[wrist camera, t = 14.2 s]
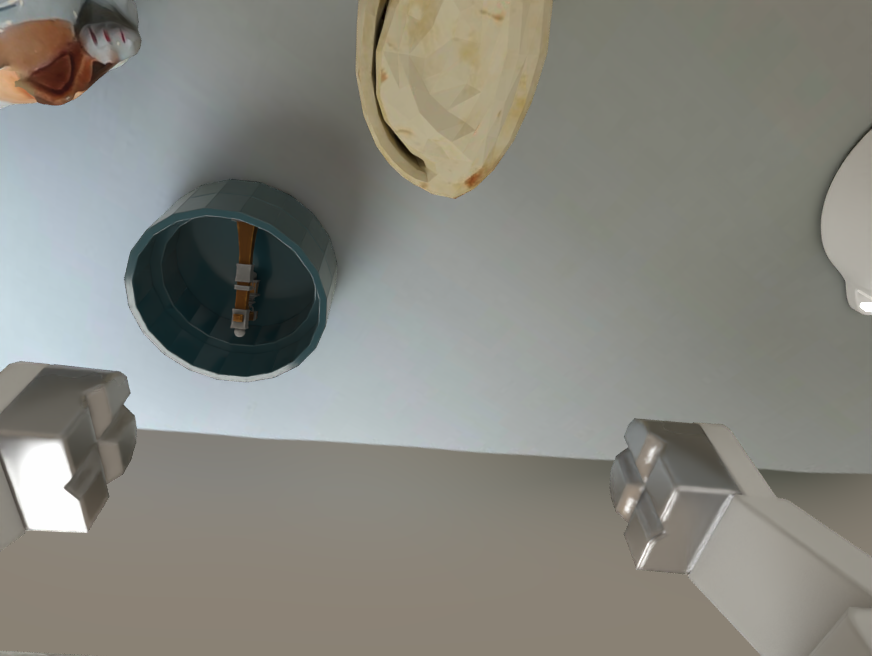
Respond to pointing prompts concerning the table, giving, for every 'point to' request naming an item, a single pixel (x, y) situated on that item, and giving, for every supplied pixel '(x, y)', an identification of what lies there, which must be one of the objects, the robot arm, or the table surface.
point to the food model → (448, 83)
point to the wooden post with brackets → (245, 279)
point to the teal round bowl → (233, 281)
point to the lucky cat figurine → (62, 47)
